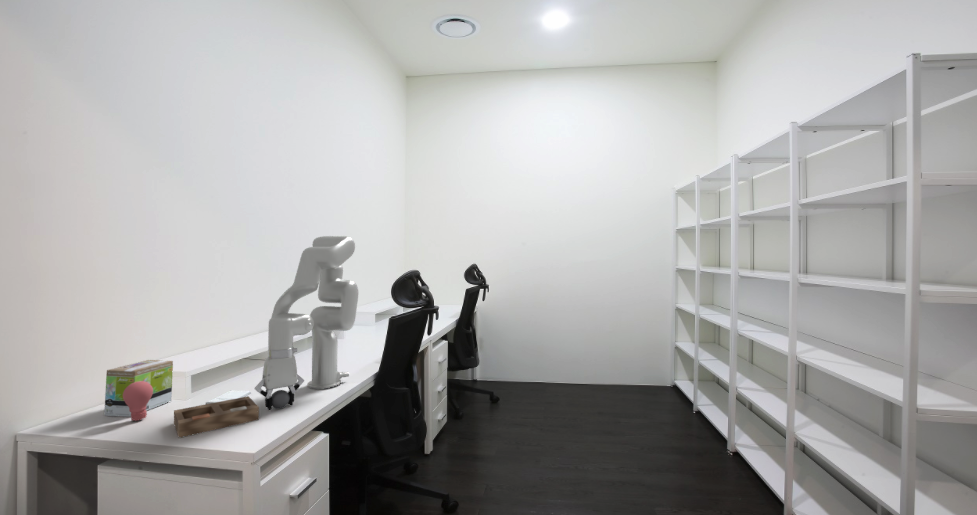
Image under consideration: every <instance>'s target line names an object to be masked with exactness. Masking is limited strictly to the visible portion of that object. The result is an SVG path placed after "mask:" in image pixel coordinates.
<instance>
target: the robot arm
mask: <svg viewBox="0 0 977 515" xmlns="http://www.w3.org/2000/svg"><path fill="white" fill-rule="evenodd" d="M311 245H312V246H309V247H307V248H305V249H304V250H303V251H302V253H301V255H300V259H299V262H298V266H297V269H296V274H295V277H294V280H293V283H292V284H291V286H290V287H288V288H287V289H286V290H285V291H284V292H283V293H282V294H281V296H280V297H279V298H278V299H277V301H276V302H275V304H274V307H273V311H272V312H271V313H272V314H271V316H270V319H269V321H268V341H267V342H268V344H267V346H268V347H267V357H266V358H265V359H264V363H263V368H262V369H263V370H262V376H261V380H260V381H259V383H258V384H256V386H254V390H255V391H256V392H257V393H258V394H260V395H262V396H263V397H264V398H265V399H264V402H265V408H266V409H267V410H268V411H271V410H273V409H272V408H273V406H272V398H271V396H272V394H273V391H274V390H276V389H283V388H288V391H287V392H288V393H289V396H290V400H289V403H288V404H287V405H288V406H293V405H294V402H295V393H296V392H297V390H298V389H299V388H300V386H301V385H303V383H305V379H304V378H303V377H301V375H299V374H298V367H297V361H296V360H297V359H296V356H295V355H294V353H297V352H298V347H294V337H295V336H305V335H307V334H309V333H310V332H311V340H312V341H311V343H312V344H311V346H312V348H311V380H310V381H309V382H307V387H308V389H312V390H325V389H324V388H328V389H331V388H330V387H333V388H335V387H334V386H336V387H338V386H340V385H341V384H342V380H341V379H342V378H349V377H350V373H349V371H347V372H346V371H341V372H339V371H338V347H339V346H338V337H337V335H336V333H335V331H336V332H337V331H341V332H342V331H343V332H344V331H347V332H348V331H350V330H351V329H353V327H354V325H355V322H356V317H357V310H358V309H357V308H358V301H359V288H358V285H357V283H356V282H355V281H353V280H350V279H343V275H344V267H343V264H344V263H345V262H346V261H348V260H349V259H350V258H351V257H353V255H354V253H355V250H356V242H355V241H354V239H353V238H352V237H350V236H345V235H343V236H342V235H341V236H339V235H337V236H336V235H335V236H333V235H325V236H324V235H323V236H318V237H316V238H314V239H313V241H312V244H311ZM316 291H317V297H318V298H317V299H318V300H319V301H320V302H322V303H324V304H341V306H334V305H333V306H332V305H320V306H317V307H314V308H313V309H312V310H311V311H310V314H306V313H293V312H292V313H289V312H290V309H291V307H292V306H293V304H294V303H296V302H297V301H299V299H301V298H303V297H305V296H308V295H310V294H312V293H314V292H316ZM340 383H341V384H340ZM339 384H340V385H339ZM337 385H338V386H337ZM263 387H264V388H265V390H264V389H262V388H263Z"/></svg>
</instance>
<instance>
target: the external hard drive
mask: <svg viewBox="0 0 977 515" xmlns="http://www.w3.org/2000/svg"><path fill="white" fill-rule="evenodd" d="M251 394H252V391H251V390H229V391H226V392H224V393H222V394H220V395H218V396H216V397H214V398H212V399H210V400H208V401H206V402H205V404H210V403H216V402H221V401H226V400H231V399H237V398H242V397H247V396H249V395H251Z"/></svg>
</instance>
